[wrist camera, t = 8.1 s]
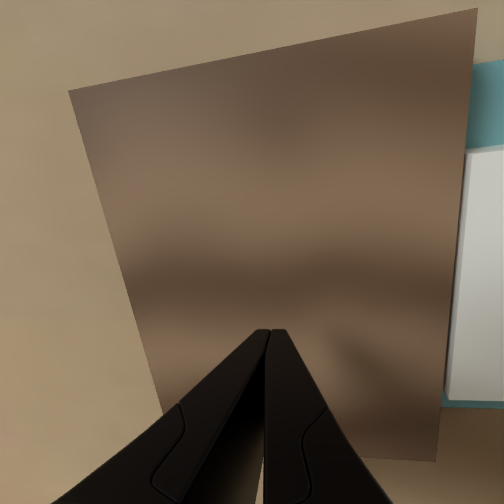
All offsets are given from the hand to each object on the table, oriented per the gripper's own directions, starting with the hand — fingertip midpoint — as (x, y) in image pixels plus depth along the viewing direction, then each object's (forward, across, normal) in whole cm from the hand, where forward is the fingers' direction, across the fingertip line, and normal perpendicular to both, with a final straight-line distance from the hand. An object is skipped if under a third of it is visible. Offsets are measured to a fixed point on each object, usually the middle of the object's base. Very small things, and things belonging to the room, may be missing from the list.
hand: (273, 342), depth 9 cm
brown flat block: (+5, 0, 0) cm, 5 cm away
